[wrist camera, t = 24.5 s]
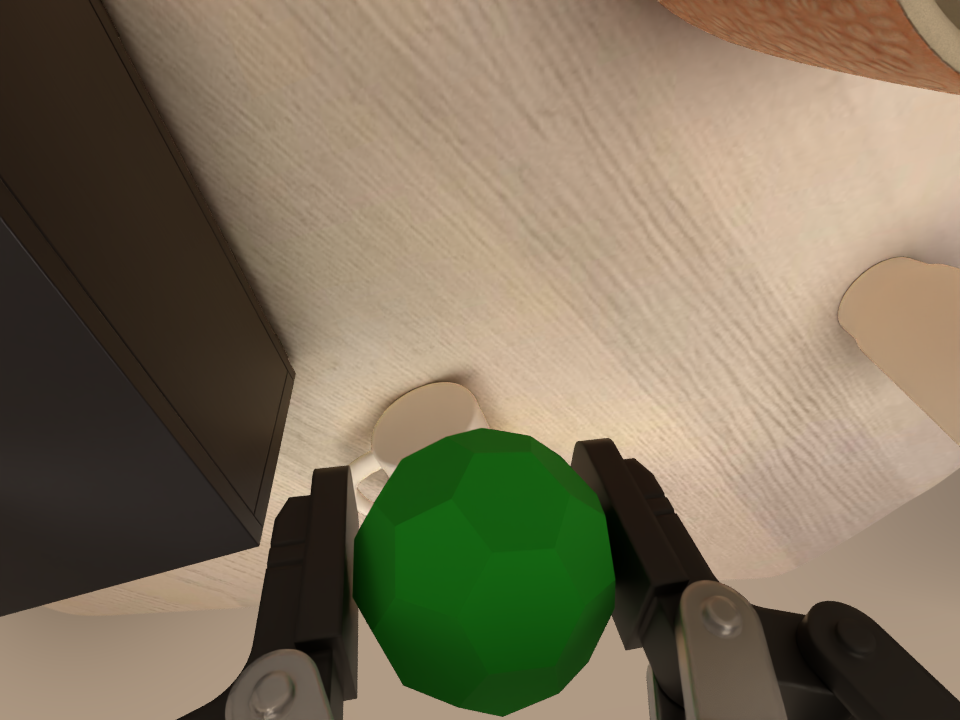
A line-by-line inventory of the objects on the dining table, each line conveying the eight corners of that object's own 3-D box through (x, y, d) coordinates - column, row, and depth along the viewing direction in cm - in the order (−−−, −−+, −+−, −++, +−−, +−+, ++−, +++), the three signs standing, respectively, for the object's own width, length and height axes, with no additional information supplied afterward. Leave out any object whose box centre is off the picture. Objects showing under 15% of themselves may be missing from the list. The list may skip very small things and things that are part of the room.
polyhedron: (607, 449, 12) (715, 651, 9) (467, 556, 14) (506, 769, 10) (462, 342, 10) (523, 563, 6) (310, 488, 11) (281, 739, 7)
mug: (467, 366, 38) (486, 440, 31) (507, 451, 44) (530, 527, 37) (321, 424, 39) (311, 507, 32) (380, 499, 44) (381, 583, 38)
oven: (-269, 55, 22) (-1079, 112, 10) (97, -32, 22) (-235, -83, 10) (71, 420, 35) (-92, 642, 23) (298, 361, 35) (259, 546, 23)
